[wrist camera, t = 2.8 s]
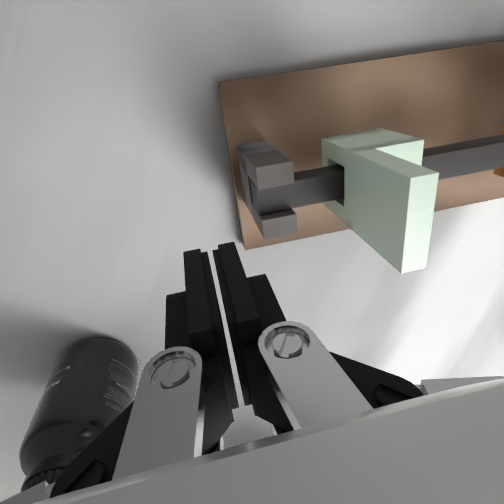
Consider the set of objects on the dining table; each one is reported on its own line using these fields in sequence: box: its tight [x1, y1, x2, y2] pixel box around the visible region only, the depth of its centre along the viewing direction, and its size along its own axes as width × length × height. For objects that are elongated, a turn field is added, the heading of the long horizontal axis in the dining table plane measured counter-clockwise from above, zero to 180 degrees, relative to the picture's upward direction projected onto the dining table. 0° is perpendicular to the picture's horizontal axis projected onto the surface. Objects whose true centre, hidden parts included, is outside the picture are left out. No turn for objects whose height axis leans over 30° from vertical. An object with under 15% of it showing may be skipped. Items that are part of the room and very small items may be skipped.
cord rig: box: [218, 40, 504, 250], centre depth 23 cm, size 12×27×9 cm, turn 97°
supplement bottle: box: [19, 338, 138, 492], centre depth 26 cm, size 7×7×12 cm
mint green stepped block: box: [321, 128, 439, 273], centre depth 19 cm, size 4×4×9 cm
